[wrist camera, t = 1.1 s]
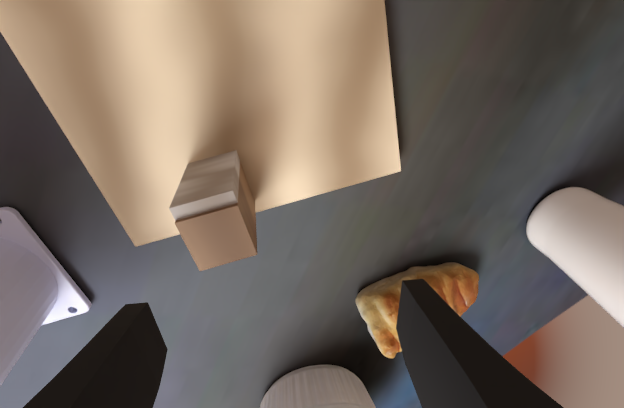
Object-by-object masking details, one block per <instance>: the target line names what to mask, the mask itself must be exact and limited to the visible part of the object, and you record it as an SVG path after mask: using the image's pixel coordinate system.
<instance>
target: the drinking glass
mask: <svg viewBox="0 0 624 408" xmlns="http://www.w3.org/2000/svg"><path fill="white" fill-rule="evenodd" d="M526 233H527V237H528V239H529V241H530V242H531V244H532V245H533V246H534V247H536V248H537V249H538V250H539V251H541V252H542V253H543V254H544V255H546V256H547V257H548V258H549V259H551V260H552V261H553V262H554V263H555V264H556V265H557V266H558V267H559V268H560V269H561V270H563V271H564V272H565V273H566V274H567V275H568V276H569V277H570V278H571V279H572V280H573V281H574V282H575V283H577V284H578V285H579V286H580V287H581V288H582V289H583V290H584V291H585V292H586V293H587V294H588V295H589V296H591V297H592V298H593V299H594V300H595V301H596V302H597V303H598V304H599V305H600V306H601V307H602V308H603V309H604V310H605V311H606V312H608V313H609V314H610V315H611V316H612V317H613V318H614V319H615V320H616V321H617V322H618V323H619V324H620V325H621V326H622V327H623V328H624V206H623V205H621V204H618V203H616V202H613V201H611V200H609V199H607V198H605V197H603V196H601V195H599V194H596V193H594V192H592V191H590V190H588V189H585V188H581V187H568V188H564V189H560V190H558V191H555V192H553V193H552V194H550V195H548V196H547V197H546V198H544V199H543V200H542V201H541V202H540V203H539V204H538V205H537V206H536V207H535V208H534V210H533V211H532V213H531V214H530V216H529V219H528V221H527V226H526Z"/></svg>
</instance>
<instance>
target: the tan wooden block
mask: <svg viewBox="0 0 624 408" xmlns="http://www.w3.org/2000/svg"><path fill="white" fill-rule="evenodd" d="M169 209H170V211H171V213H172V215H173V217H174V219H175V225H176V227H177V229H178V231H179V233H180V235H181V236H182V238H183V240H184V242H185V244H186V246H187V248H188V250H189V252H190V253H191V255H192V257H193V259H194V261H195V263H196V265H197V267H198V269H199V270H200V271H202V270H206V269H209V268H213V267H216V266H220V265H223V264H227V263H230V262H233V261H237V260H240V259H244V258H247V257H251V256H254V255H257V238H256V214H255V200H254V198H253V195H252V192H251V189H250V187H249V184H248V181H247V178H246V176H245V173H244V170H243V167H242V165H241V162H240V159H239V156H238V154H237V151H236V150H235V151H231V152H228V153H224V154H221V155H217V156H213V157H210V158H206V159H203V160H199V161H195V162H192V163H188V164H187V167H186V169H185V171H184V174H183V176H182V179H181V181H180V183H179V186H178V188H177V191H176V193H175V195H174V198H173V200H172V203H171V205H170V207H169Z"/></svg>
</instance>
